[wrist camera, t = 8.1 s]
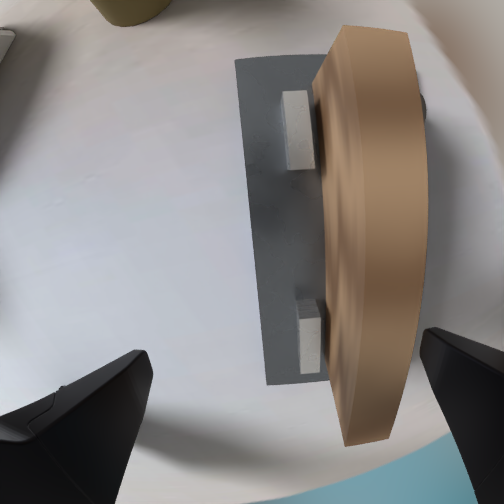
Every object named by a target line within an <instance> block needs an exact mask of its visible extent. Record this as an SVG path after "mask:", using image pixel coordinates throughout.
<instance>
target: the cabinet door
mask: <svg viewBox="0 0 504 504" xmlns="http://www.w3.org/2000/svg"><path fill="white" fill-rule="evenodd" d="M312 88H313V96H314V104H315V113H316V122H317V131H318V141H319V152H320V164H321V177H322V191H323V208H324V230H325V261H326V334H325V363H326V367H327V371H328V375H329V379H330V383H331V387H332V392H333V396H334V400H335V404H336V409H337V413H338V418H339V422H340V427H341V431H342V436H343V440H344V445H345V447H347V446H353V445H359V444H365V443H370V442H375V441H380V440H384V439H389V436H390V433H391V430H392V427H393V424H394V421H395V418H396V415H397V411H398V408H399V405H400V401H401V398H402V394H403V390H404V387H405V383H406V379H407V375H408V371H409V366H410V362H411V358H412V353H413V348H414V343H415V338H416V332H417V327H418V321H419V314H420V308H421V301H422V293H423V285H424V275H425V265H426V252H427V234H428V170H427V152H426V140H425V129H424V122H425V119H426V104H425V100H424V98H423V96H422V95H421V94H420V91H419V85H418V80H417V74H416V69H415V64H414V59H413V55H412V51H411V46H410V42H409V38H408V34H407V33H406V32H400V31H393V30H386V29H379V28H370V27H360V26H348V25H343V27H342V28H341V30H340V32H339V34H338V36H337V38H336V39H335V41H334V43H333V45H332V47H331V49H330V50H329V52H328V54H327V56H326V58H325V60H324V62H323V63H322V65H321V67H320V69H319V71H318V73H317V75H316V77H315V79H314V80H313V82H312Z"/></svg>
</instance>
